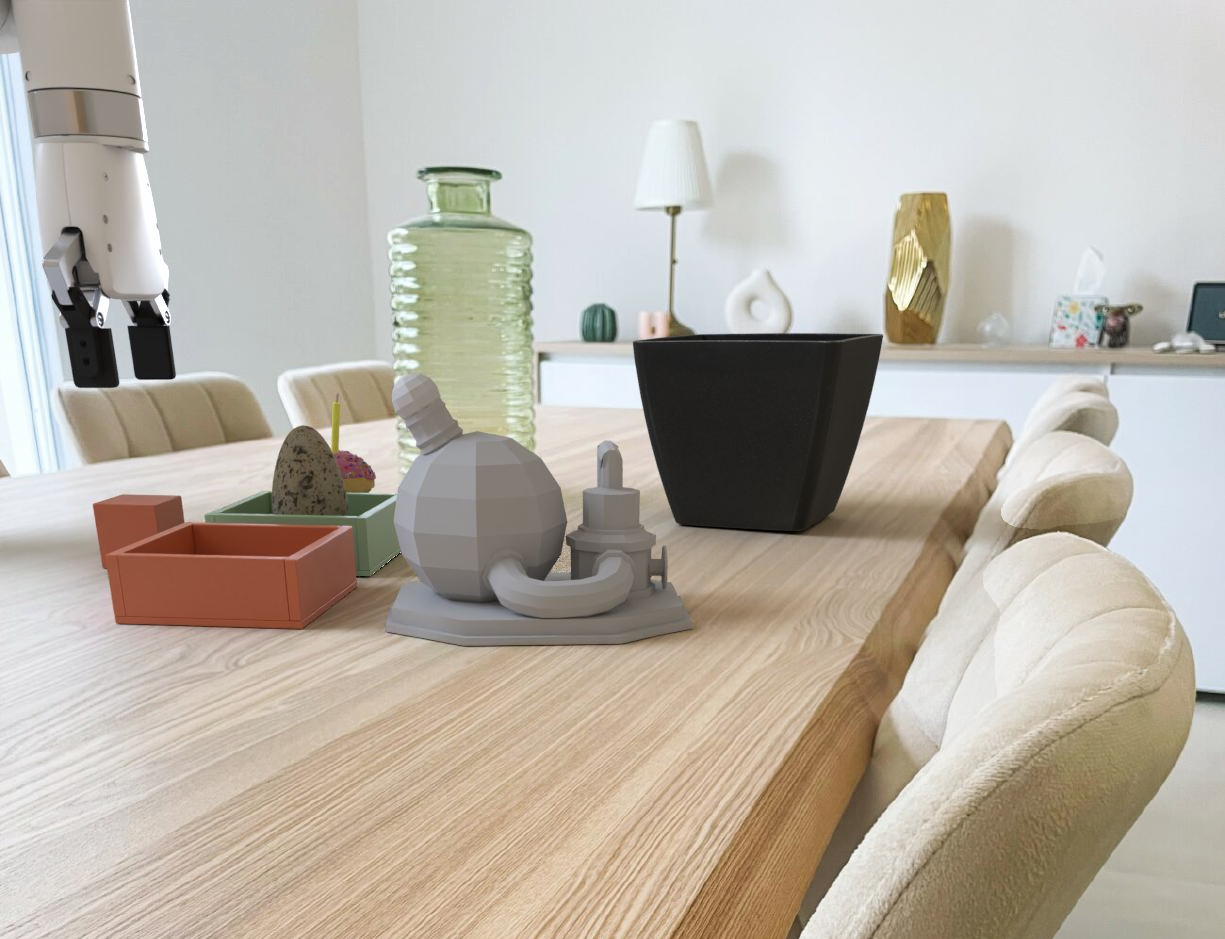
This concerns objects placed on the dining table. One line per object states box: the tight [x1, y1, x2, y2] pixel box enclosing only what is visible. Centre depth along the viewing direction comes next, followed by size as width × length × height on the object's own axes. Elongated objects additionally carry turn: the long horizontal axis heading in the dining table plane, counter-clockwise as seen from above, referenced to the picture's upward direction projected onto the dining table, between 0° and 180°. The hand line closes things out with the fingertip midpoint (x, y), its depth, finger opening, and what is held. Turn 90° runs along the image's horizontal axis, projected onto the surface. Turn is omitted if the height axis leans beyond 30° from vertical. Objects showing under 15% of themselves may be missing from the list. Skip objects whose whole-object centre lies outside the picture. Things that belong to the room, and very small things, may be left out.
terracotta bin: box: [105, 521, 358, 630], centre depth 85 cm, size 13×13×4 cm
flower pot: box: [632, 332, 884, 532], centre depth 116 cm, size 19×19×17 cm
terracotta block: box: [92, 493, 186, 569], centre depth 97 cm, size 5×5×5 cm
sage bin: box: [203, 490, 401, 577], centre depth 99 cm, size 13×13×4 cm
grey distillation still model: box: [385, 372, 694, 647], centre depth 80 cm, size 20×15×15 cm
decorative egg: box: [271, 424, 348, 516], centre depth 98 cm, size 6×6×10 cm
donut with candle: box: [330, 392, 377, 493], centre depth 111 cm, size 9×8×12 cm
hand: (128, 383), depth 93 cm, fingers open, 9 cm apart
